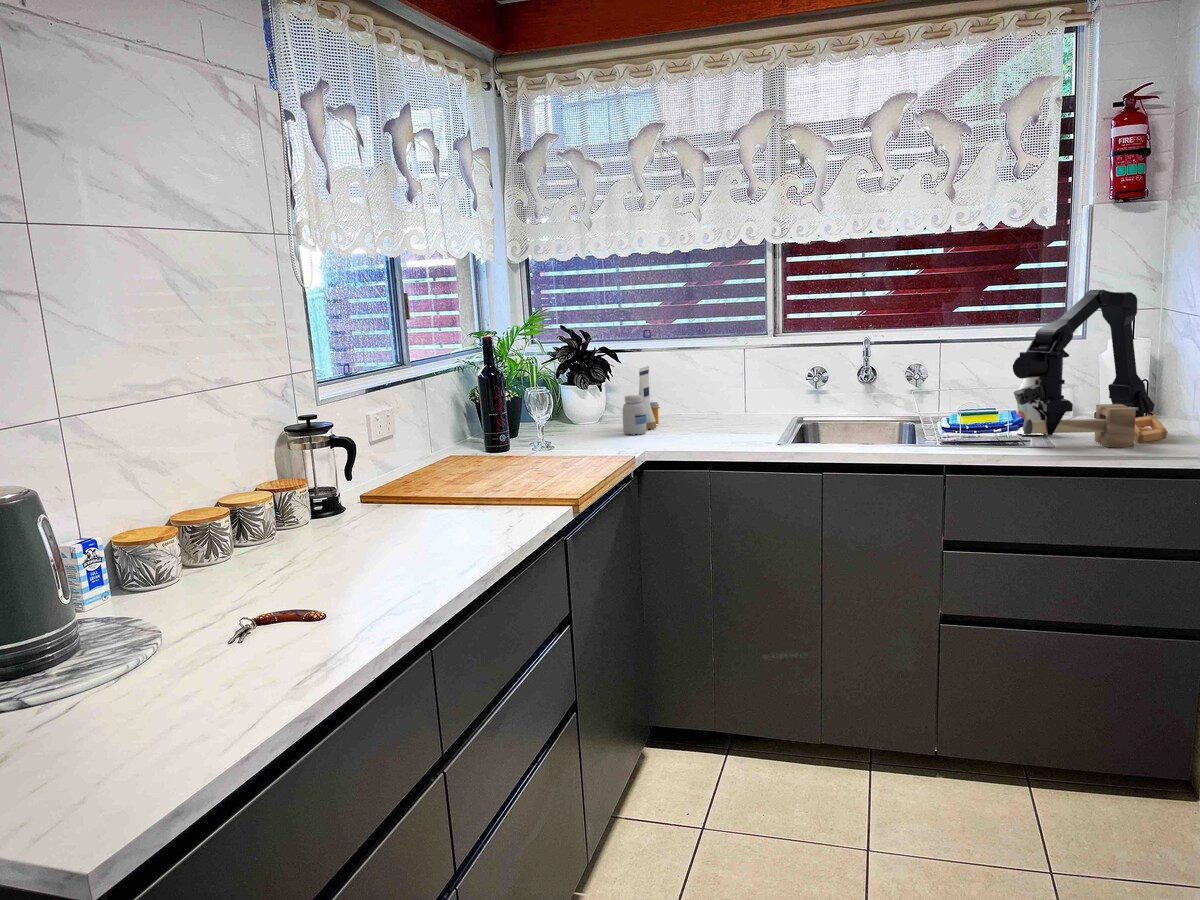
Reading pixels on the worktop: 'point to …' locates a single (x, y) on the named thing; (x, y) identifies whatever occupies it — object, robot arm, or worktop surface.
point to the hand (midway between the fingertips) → (1047, 434)
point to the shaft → (1065, 426)
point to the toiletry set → (640, 408)
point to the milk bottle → (1026, 409)
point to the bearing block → (1116, 425)
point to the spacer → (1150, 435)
